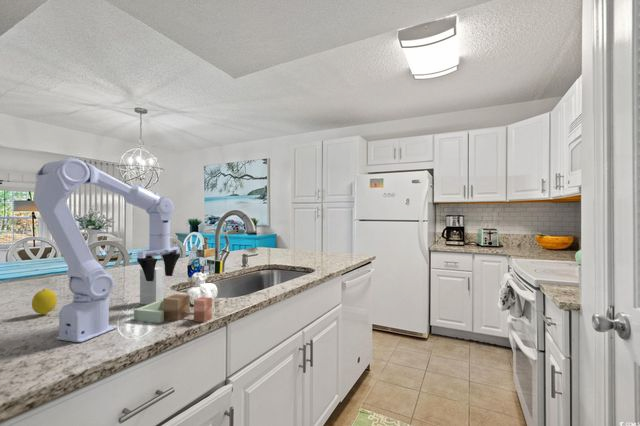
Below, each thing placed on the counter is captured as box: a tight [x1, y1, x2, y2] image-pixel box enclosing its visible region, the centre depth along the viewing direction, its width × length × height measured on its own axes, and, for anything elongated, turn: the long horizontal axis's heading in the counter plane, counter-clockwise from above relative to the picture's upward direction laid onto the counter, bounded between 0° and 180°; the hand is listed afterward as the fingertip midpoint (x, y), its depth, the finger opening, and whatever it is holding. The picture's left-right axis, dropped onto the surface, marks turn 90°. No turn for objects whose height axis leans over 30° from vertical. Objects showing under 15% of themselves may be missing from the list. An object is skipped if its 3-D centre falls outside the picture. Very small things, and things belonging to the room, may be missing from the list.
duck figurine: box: [185, 271, 218, 306], centre depth 101 cm, size 12×8×11 cm
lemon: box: [31, 288, 58, 316], centre depth 88 cm, size 6×6×8 cm
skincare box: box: [139, 267, 165, 305], centre depth 100 cm, size 6×4×12 cm
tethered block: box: [163, 294, 213, 323], centre depth 84 cm, size 5×13×6 cm, turn 75°
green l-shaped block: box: [133, 300, 165, 324], centre depth 87 cm, size 10×9×3 cm
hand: (159, 278), depth 91 cm, fingers open, 7 cm apart
